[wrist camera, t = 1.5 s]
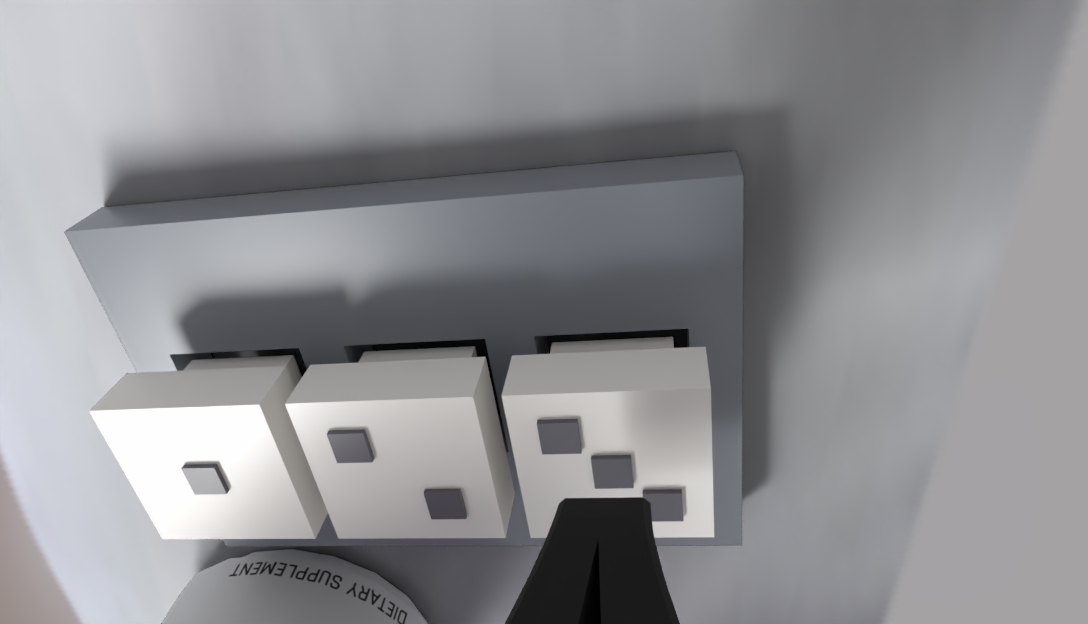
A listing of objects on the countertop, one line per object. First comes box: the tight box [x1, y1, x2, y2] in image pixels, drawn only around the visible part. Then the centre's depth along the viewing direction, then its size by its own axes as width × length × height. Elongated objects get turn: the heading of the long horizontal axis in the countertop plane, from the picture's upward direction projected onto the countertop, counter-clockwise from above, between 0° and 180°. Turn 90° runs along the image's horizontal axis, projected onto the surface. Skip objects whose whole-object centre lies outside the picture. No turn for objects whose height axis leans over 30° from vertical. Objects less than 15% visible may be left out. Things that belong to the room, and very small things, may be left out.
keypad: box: [64, 151, 744, 546], centre depth 16 cm, size 9×13×1 cm
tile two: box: [285, 346, 515, 539], centre depth 15 cm, size 4×4×2 cm
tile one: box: [89, 355, 328, 539], centre depth 15 cm, size 4×4×2 cm
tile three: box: [502, 337, 714, 538], centre depth 14 cm, size 4×4×2 cm
